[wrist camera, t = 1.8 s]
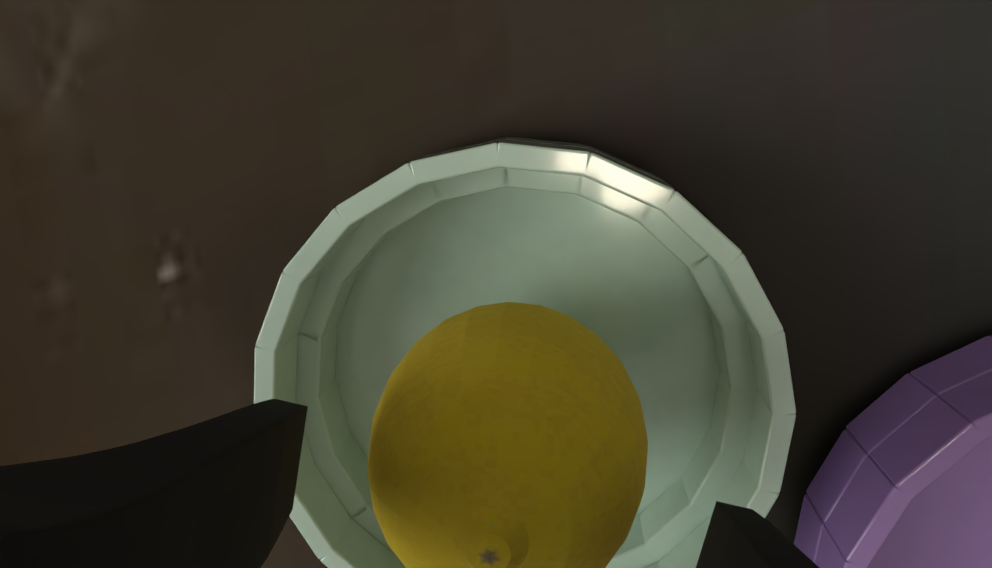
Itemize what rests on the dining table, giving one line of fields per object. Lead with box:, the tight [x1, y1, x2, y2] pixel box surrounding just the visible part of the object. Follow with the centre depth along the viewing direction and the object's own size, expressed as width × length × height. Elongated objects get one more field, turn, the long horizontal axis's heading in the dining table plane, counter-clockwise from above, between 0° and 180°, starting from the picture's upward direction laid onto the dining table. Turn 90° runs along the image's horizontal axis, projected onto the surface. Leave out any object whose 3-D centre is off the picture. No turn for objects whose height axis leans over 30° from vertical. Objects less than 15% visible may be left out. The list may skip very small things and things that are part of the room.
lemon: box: [367, 302, 648, 568], centre depth 15 cm, size 6×6×8 cm
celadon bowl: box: [254, 137, 796, 568], centre depth 18 cm, size 12×12×3 cm
